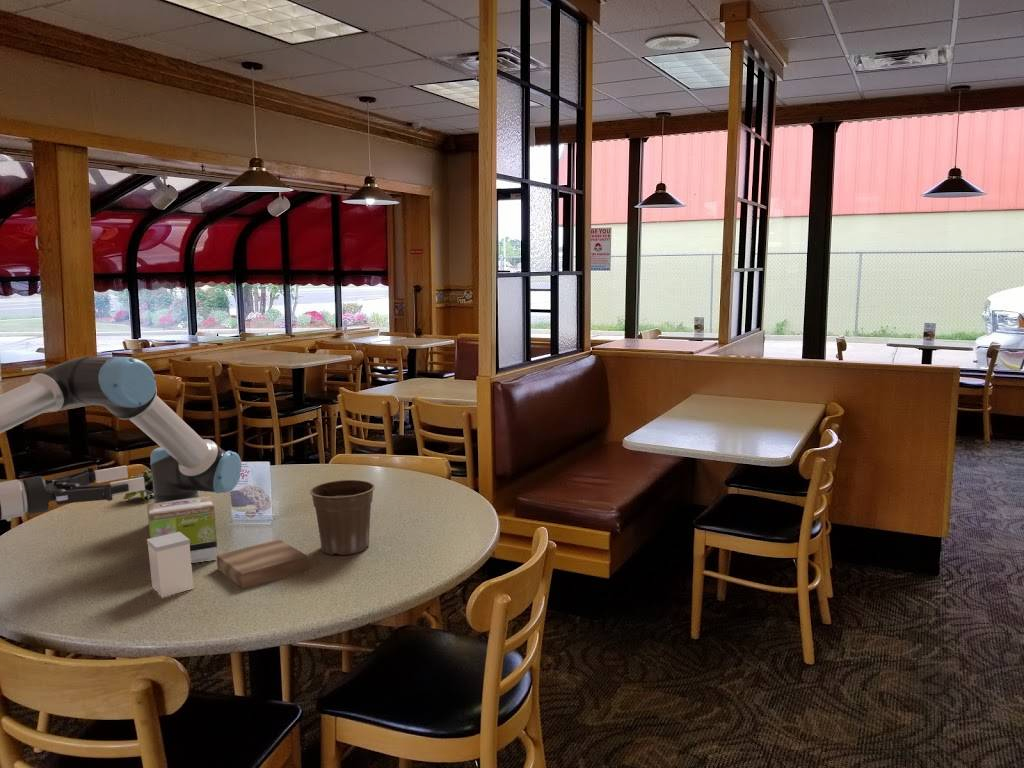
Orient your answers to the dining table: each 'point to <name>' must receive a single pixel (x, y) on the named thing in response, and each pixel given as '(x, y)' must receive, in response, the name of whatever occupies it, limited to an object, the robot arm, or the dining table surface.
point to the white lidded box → (170, 563)
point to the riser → (262, 563)
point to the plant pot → (343, 515)
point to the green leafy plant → (148, 485)
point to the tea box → (187, 524)
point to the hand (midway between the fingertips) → (135, 477)
